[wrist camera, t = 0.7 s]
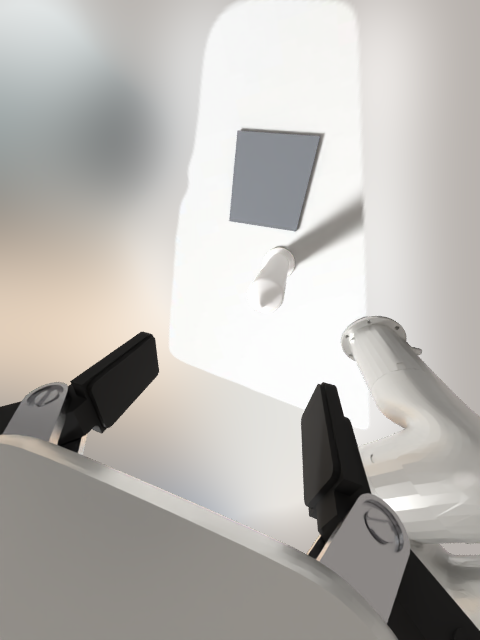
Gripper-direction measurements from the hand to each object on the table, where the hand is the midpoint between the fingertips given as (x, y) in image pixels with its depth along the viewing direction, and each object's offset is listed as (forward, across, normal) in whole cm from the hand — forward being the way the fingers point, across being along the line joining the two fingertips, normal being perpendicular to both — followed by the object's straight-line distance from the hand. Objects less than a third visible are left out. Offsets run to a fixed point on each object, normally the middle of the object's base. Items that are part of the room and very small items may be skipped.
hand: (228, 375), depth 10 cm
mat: (+36, +5, -14) cm, 38 cm away
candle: (+36, 0, 0) cm, 36 cm away
